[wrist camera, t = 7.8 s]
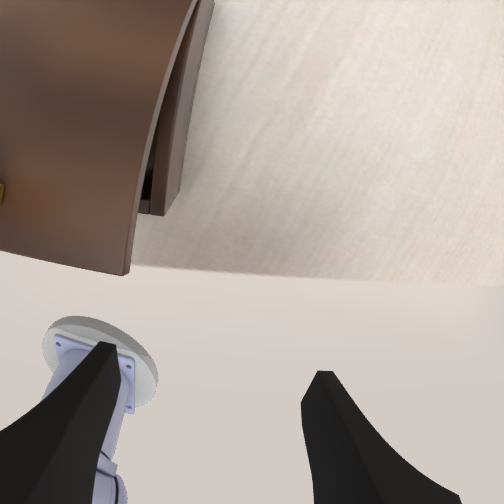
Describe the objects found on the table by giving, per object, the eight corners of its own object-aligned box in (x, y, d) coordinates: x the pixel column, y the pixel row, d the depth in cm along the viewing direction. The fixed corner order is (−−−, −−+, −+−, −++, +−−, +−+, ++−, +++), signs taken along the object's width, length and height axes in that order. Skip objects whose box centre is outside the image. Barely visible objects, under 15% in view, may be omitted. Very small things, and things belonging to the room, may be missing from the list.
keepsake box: (179, 192, 17) (163, 217, 13) (-9, 172, 15) (-44, 190, 11) (214, 2, 12) (208, -24, 8) (7, 21, 10) (-30, 16, 7)
